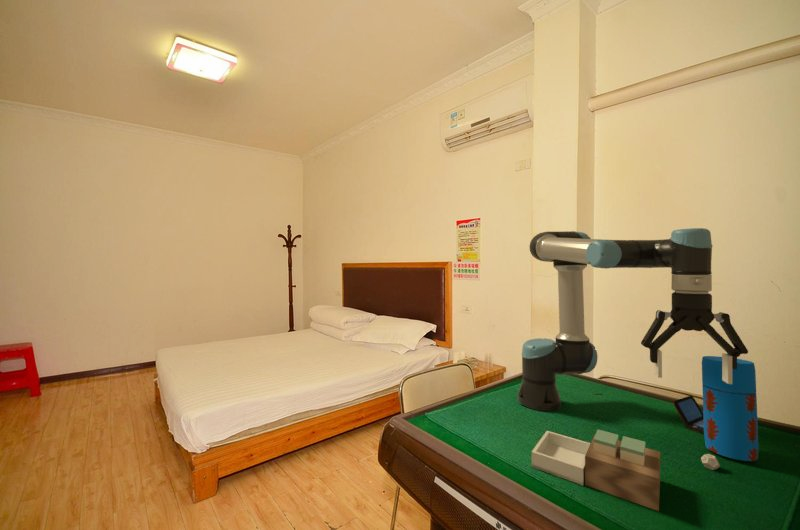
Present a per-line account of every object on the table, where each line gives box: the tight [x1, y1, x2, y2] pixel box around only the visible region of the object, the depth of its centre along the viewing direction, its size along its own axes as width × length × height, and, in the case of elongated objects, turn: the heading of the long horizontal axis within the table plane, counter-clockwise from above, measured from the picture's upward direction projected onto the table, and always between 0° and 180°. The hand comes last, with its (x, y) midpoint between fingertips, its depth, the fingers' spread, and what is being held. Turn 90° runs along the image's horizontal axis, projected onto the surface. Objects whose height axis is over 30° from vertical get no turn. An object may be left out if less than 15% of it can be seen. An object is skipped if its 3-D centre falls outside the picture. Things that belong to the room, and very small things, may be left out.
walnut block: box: [584, 433, 661, 512], centre depth 82 cm, size 14×13×7 cm
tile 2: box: [620, 435, 646, 466], centre depth 81 cm, size 4×6×3 cm
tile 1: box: [594, 429, 619, 457], centre depth 84 cm, size 4×6×3 cm
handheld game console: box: [673, 395, 704, 435], centre depth 110 cm, size 12×11×7 cm
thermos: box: [701, 355, 759, 462], centre depth 95 cm, size 11×11×25 cm
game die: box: [700, 453, 721, 471], centre depth 88 cm, size 4×4×3 cm
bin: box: [531, 430, 591, 486], centre depth 90 cm, size 12×14×4 cm
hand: (691, 379), depth 84 cm, fingers open, 13 cm apart
